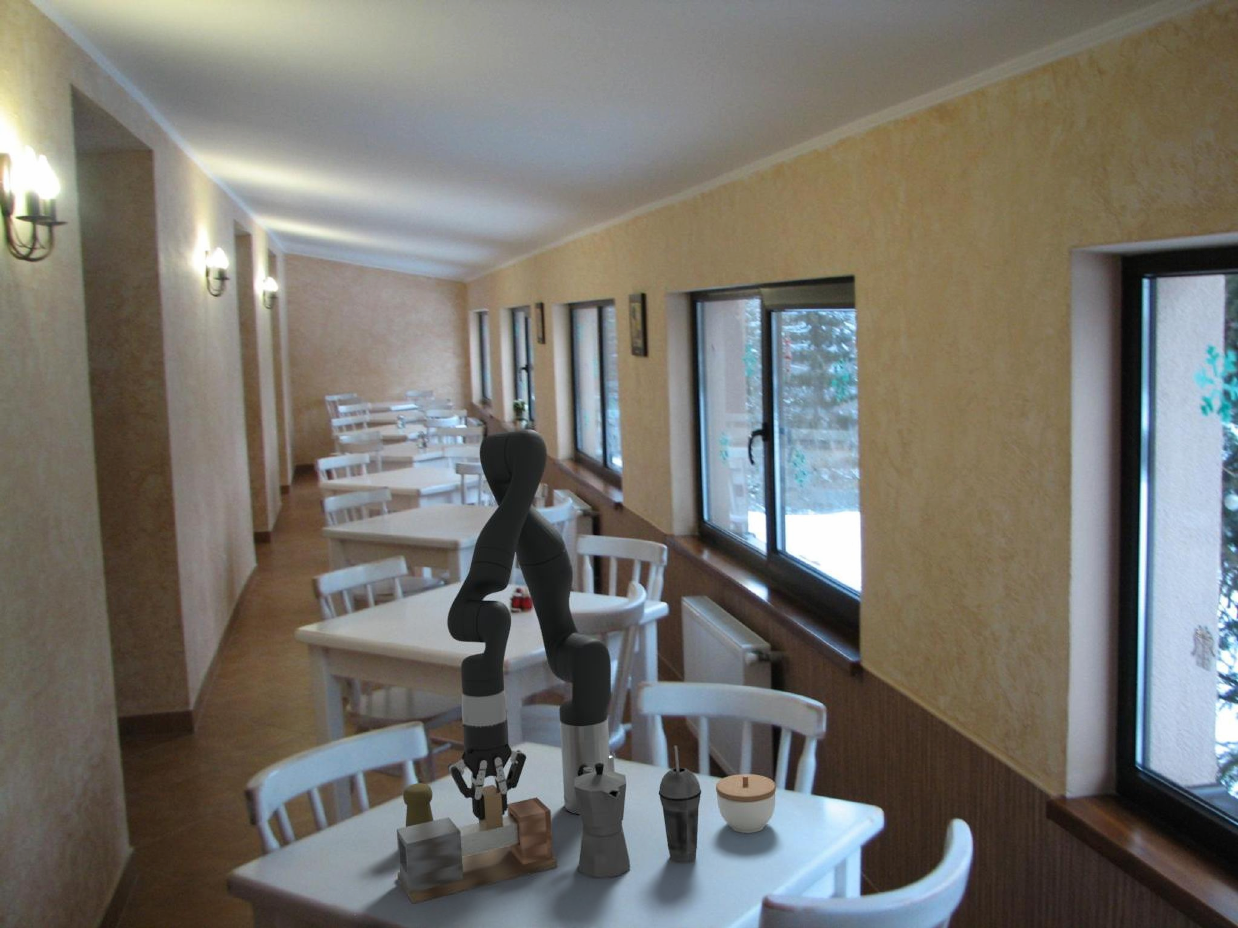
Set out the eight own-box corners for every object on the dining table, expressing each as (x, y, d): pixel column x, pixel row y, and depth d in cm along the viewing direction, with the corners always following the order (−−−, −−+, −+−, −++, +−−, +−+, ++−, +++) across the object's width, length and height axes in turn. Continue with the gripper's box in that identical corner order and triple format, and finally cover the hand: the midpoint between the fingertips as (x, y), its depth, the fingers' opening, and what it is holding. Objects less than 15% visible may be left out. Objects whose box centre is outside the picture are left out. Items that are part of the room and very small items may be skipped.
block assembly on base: (536, 844, 198) (533, 793, 197) (557, 866, 189) (554, 813, 188) (397, 878, 187) (394, 825, 186) (413, 903, 178) (409, 847, 177)
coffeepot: (646, 875, 184) (641, 770, 182) (594, 888, 180) (588, 781, 178) (608, 840, 198) (603, 742, 196) (559, 852, 194) (553, 752, 192)
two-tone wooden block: (522, 832, 193) (519, 778, 192) (530, 840, 190) (527, 786, 189) (429, 854, 186) (425, 799, 185) (435, 863, 183) (431, 807, 182)
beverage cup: (708, 849, 192) (704, 737, 190) (698, 868, 185) (692, 752, 183) (668, 845, 194) (663, 735, 193) (656, 864, 188) (650, 749, 186)
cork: (430, 852, 197) (426, 792, 196) (399, 851, 198) (394, 791, 197) (443, 837, 202) (439, 779, 201) (411, 836, 204) (407, 778, 203)
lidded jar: (750, 808, 208) (748, 760, 208) (789, 827, 200) (787, 776, 199) (705, 824, 203) (703, 774, 202) (744, 844, 194) (742, 792, 193)
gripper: (516, 704, 193) (521, 800, 195) (438, 718, 187) (443, 816, 189) (531, 715, 186) (536, 814, 188) (450, 730, 180) (456, 832, 182)
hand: (490, 815), depth 188 cm, fingers closed on two-tone wooden block, 3 cm apart
